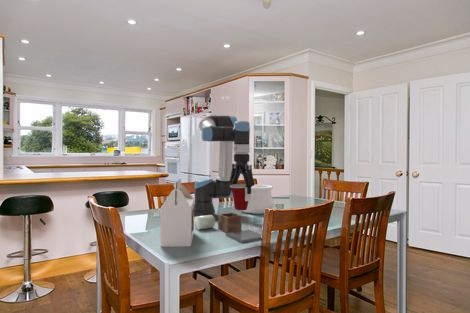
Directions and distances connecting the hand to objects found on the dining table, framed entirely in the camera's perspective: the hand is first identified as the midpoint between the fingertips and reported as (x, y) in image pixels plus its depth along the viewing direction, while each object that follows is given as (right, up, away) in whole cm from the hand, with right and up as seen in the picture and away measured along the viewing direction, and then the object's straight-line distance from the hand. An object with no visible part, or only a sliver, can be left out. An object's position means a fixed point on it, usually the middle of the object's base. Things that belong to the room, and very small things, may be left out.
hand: (241, 199), depth 150 cm
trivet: (+2, -19, +1) cm, 19 cm away
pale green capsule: (-18, -16, +15) cm, 29 cm away
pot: (+12, -18, +67) cm, 70 cm away
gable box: (-30, -19, -3) cm, 35 cm away
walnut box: (-6, -18, +15) cm, 24 cm away
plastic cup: (0, -5, 0) cm, 5 cm away
